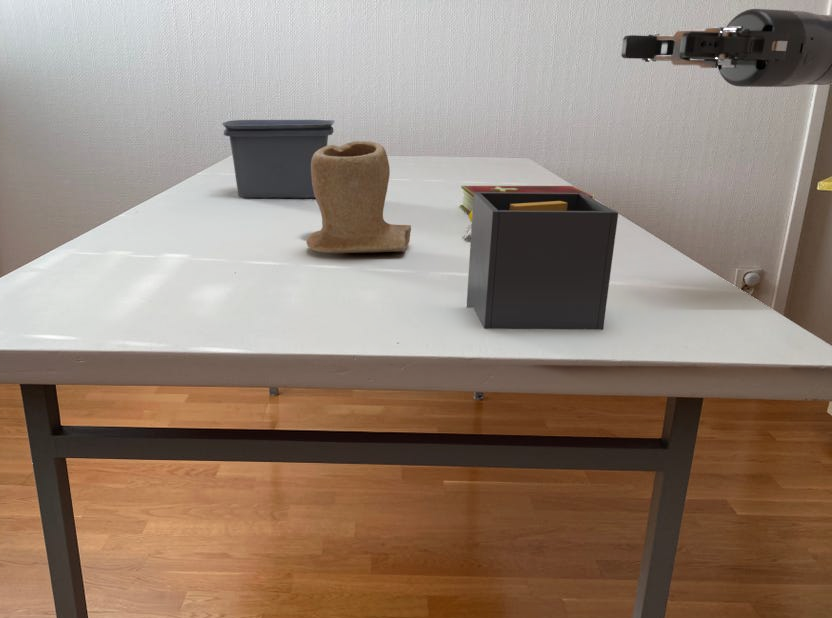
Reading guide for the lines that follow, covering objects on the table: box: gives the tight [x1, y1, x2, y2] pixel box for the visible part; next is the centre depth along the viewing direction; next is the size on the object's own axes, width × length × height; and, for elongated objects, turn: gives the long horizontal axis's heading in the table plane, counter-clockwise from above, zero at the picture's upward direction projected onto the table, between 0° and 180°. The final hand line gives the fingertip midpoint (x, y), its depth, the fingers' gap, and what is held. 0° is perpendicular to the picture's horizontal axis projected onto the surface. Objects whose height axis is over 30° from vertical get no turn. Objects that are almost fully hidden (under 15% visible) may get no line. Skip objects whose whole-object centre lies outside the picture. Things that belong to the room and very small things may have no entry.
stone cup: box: [305, 140, 412, 254], centre depth 106 cm, size 15×12×15 cm
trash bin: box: [465, 192, 619, 331], centre depth 76 cm, size 11×11×13 cm
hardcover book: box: [459, 185, 596, 216], centre depth 139 cm, size 12×21×4 cm, turn 94°
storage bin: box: [221, 119, 335, 199], centre depth 154 cm, size 21×16×14 cm
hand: (652, 45), depth 77 cm, fingers open, 8 cm apart
